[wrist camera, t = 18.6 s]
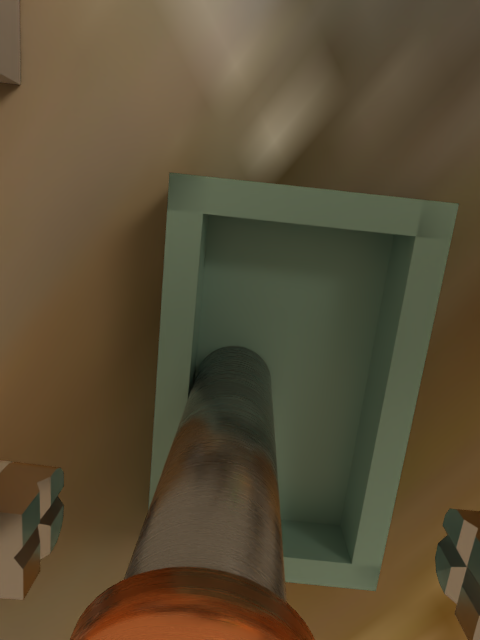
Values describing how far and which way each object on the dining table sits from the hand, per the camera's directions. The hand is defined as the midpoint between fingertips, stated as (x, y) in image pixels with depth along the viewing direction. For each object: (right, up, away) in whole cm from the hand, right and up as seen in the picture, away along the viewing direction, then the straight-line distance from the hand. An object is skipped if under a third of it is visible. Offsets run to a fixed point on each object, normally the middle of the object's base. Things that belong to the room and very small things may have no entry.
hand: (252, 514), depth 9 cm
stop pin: (-1, +2, +6) cm, 7 cm away
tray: (+1, +2, +7) cm, 7 cm away
